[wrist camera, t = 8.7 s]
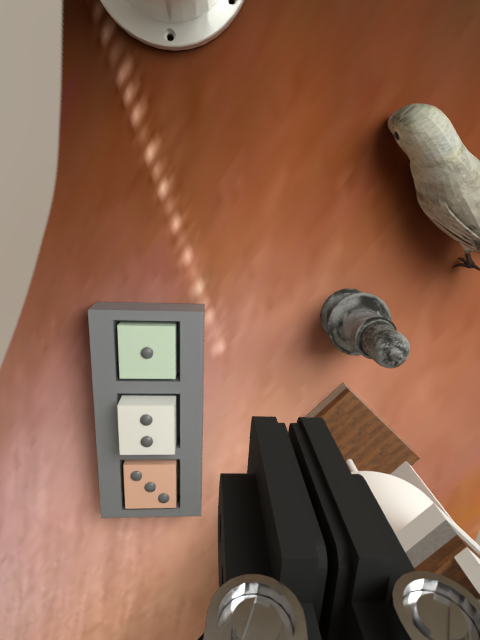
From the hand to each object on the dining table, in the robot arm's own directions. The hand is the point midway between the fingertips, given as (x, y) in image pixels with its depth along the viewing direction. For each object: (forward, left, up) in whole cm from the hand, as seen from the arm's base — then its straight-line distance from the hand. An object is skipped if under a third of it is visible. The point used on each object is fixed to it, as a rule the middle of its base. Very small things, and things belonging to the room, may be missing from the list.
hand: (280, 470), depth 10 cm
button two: (+14, -7, -27) cm, 31 cm away
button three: (+21, -7, -28) cm, 36 cm away
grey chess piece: (+4, +12, -30) cm, 32 cm away
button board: (+14, -7, -30) cm, 34 cm away
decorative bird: (-8, +19, -30) cm, 36 cm away
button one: (+7, -7, -28) cm, 30 cm away
